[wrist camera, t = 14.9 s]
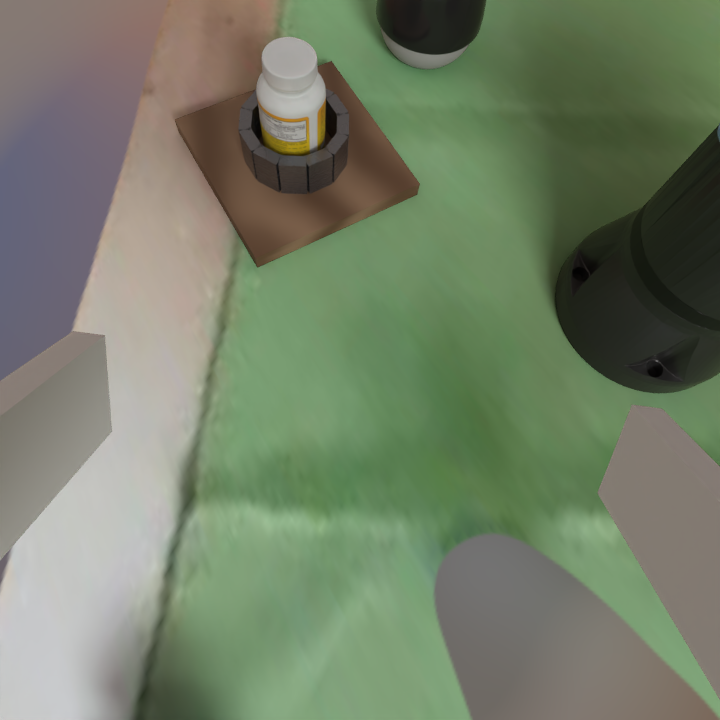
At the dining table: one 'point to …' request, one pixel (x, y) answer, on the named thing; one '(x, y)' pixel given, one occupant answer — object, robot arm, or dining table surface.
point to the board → (296, 211)
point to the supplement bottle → (291, 98)
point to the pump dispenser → (429, 29)
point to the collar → (296, 170)
